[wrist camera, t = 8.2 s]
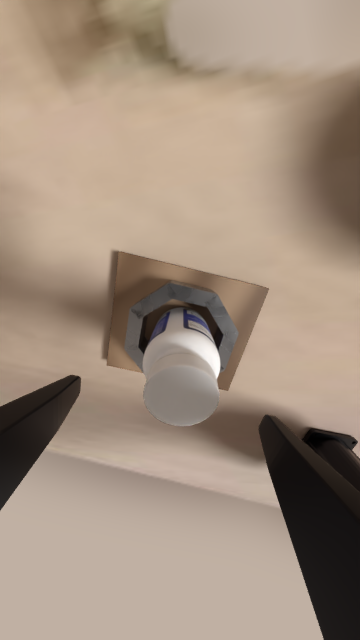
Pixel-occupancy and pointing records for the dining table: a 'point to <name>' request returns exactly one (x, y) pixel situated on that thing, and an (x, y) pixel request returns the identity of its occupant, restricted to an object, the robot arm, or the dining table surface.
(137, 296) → the tan board
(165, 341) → the pill bottle
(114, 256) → the dining table surface
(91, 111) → the dining table surface
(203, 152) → the dining table surface
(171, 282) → the ring collar
